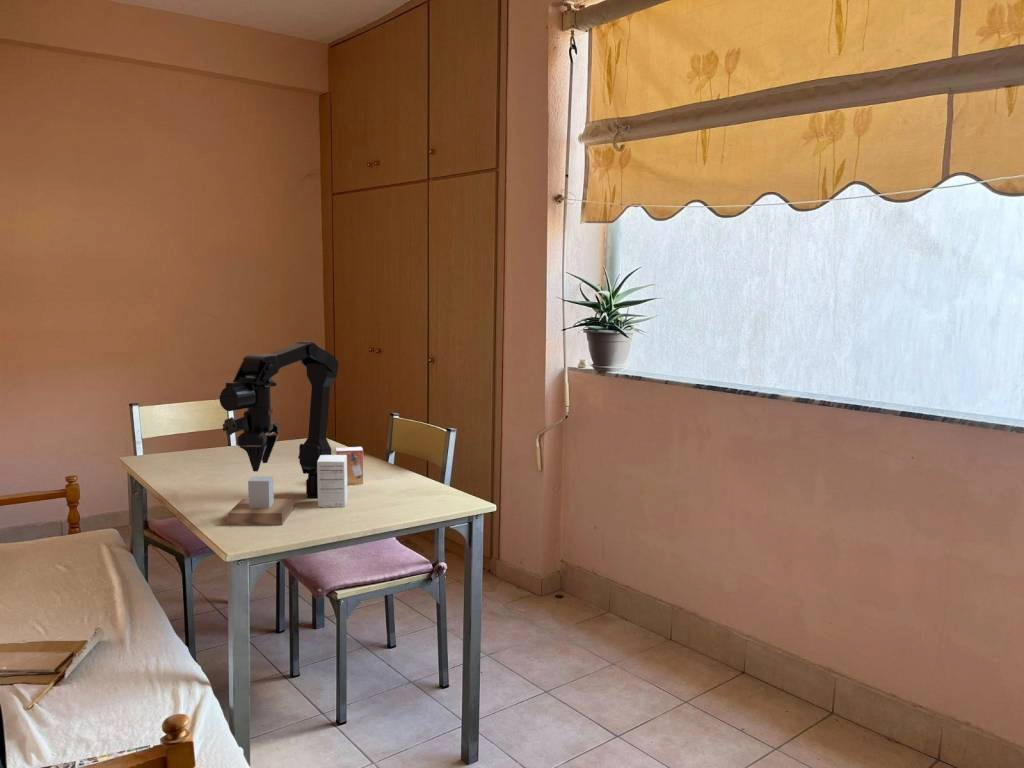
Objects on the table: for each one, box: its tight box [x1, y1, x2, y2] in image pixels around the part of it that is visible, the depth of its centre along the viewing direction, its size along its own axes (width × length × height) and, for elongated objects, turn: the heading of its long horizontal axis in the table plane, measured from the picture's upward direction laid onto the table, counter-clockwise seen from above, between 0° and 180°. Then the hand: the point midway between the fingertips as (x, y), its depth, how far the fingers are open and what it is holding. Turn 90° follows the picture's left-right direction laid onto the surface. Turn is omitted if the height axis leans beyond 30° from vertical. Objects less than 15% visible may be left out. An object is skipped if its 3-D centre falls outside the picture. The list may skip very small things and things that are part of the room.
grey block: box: [247, 475, 275, 509], centre depth 199 cm, size 5×5×7 cm
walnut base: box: [227, 498, 294, 526], centre depth 199 cm, size 13×13×3 cm
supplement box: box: [317, 454, 349, 508], centre depth 212 cm, size 7×7×13 cm
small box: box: [334, 446, 364, 486], centre depth 235 cm, size 8×6×10 cm
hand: (260, 467), depth 198 cm, fingers open, 9 cm apart
